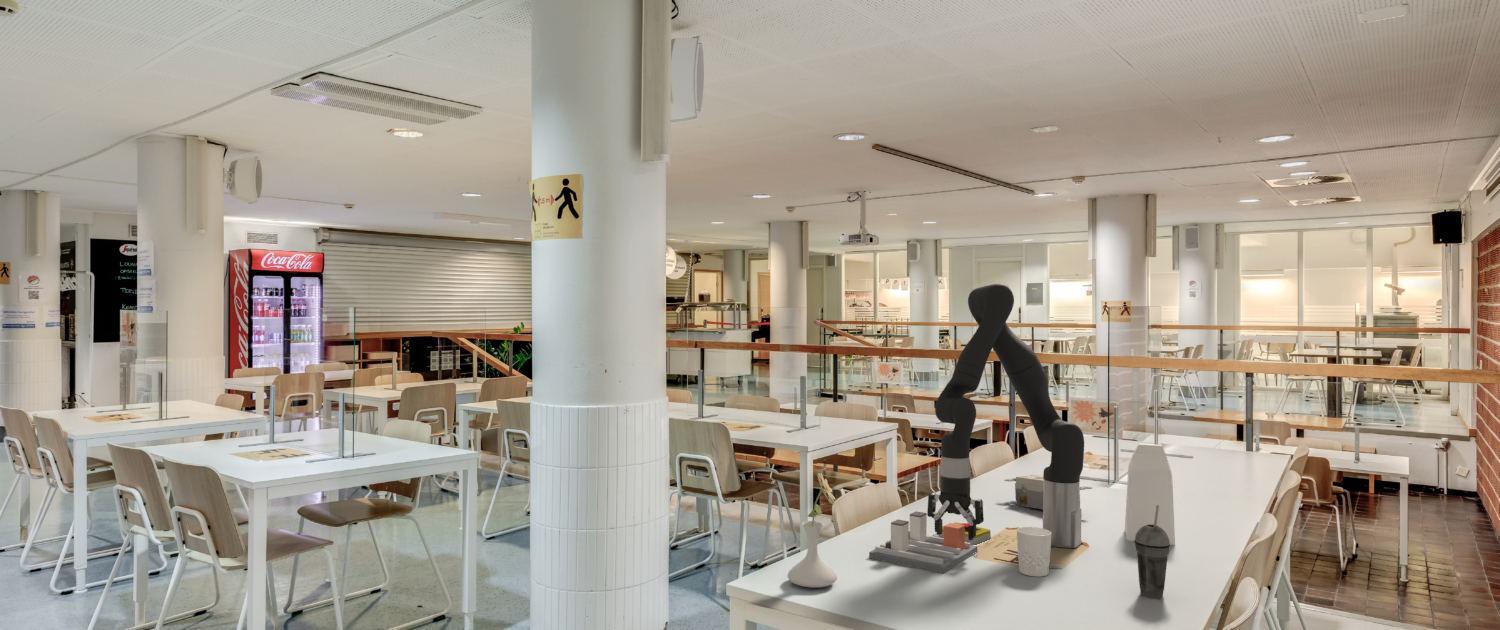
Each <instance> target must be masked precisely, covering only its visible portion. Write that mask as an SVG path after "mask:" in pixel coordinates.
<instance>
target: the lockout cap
mask: <svg viewBox="0 0 1500 630" xmlns="http://www.w3.org/2000/svg"><path fill="white" fill-rule="evenodd" d="M954 523H955V522H948V523H947V524H945V525H943V526H944V546H948V547H953V548H959V549H961V550H963V549H965V525H960V524H954Z"/></svg>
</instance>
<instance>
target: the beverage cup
mask: <svg viewBox="0 0 1500 630" xmlns="http://www.w3.org/2000/svg"><path fill="white" fill-rule="evenodd" d="M1158 510H1159V505H1156V513H1155V521H1154V525H1145V526H1143V527H1141V528H1140V529H1139V530H1138V531H1137V533H1136V536H1135V540H1134V541H1133V542H1134V547H1135V551H1136V557H1137V570H1138V571H1137V572H1138V583H1139V584H1138V585H1139V590H1140V595H1141V596H1143V597H1145V598H1147V599H1148V598H1150V599H1156V600H1157V599H1159V600H1160V599H1162V598H1163V597H1164V590H1165V583H1166V576H1167V575H1166V573H1167V567H1168V566H1167V565H1168V556H1169V553H1170V547H1171V545H1170V542H1169V538H1168V535H1167V534H1166V532H1165V531H1164V530H1163V529H1162V528H1160V527H1159V526H1157V518H1158Z"/></svg>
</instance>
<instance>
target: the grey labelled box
mask: <svg viewBox="0 0 1500 630" xmlns="http://www.w3.org/2000/svg"><path fill="white" fill-rule="evenodd" d="M1043 479H1044V478H1043V475H1042V474H1034V473H1032V474H1026V475H1025V474H1024V475H1019V476H1015V478H1014V477H1013V478H1011V479H1010V478H1007V479H1006V478H1005V479H1004V482H1015V483H1014V491H1015V493H1014V494H1015V502H1016V506H1020V507H1025V508H1032V509H1037V510H1043ZM1091 489H1093V487H1092V486H1086V485H1085V486H1079V508H1081V492H1080V491H1083V490H1091Z"/></svg>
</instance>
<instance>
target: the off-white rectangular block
mask: <svg viewBox="0 0 1500 630" xmlns="http://www.w3.org/2000/svg"><path fill="white" fill-rule="evenodd" d="M927 517H928V515H927V512H923V511H918V510H917V511H916V510H915V511H914V512H912V513H909V531H910V535H909V539H910V540H915V541H921V542H925V541H926V535H927Z"/></svg>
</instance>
